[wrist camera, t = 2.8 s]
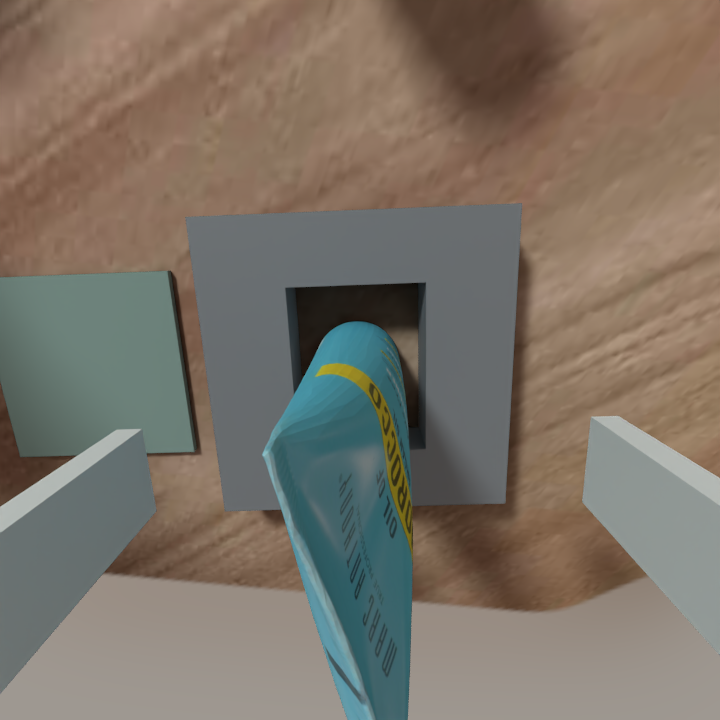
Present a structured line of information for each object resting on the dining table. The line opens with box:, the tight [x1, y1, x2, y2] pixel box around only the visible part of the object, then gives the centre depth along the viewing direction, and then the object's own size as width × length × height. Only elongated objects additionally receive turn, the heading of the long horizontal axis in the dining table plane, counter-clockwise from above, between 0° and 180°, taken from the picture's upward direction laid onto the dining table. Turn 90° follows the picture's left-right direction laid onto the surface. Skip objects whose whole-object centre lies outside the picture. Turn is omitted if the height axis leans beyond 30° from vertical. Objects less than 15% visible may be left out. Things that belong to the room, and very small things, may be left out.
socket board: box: [185, 203, 522, 511], centre depth 23 cm, size 16×16×3 cm
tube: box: [262, 321, 413, 720], centre depth 15 cm, size 7×5×19 cm, turn 19°
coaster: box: [0, 271, 197, 457], centre depth 24 cm, size 11×11×1 cm
